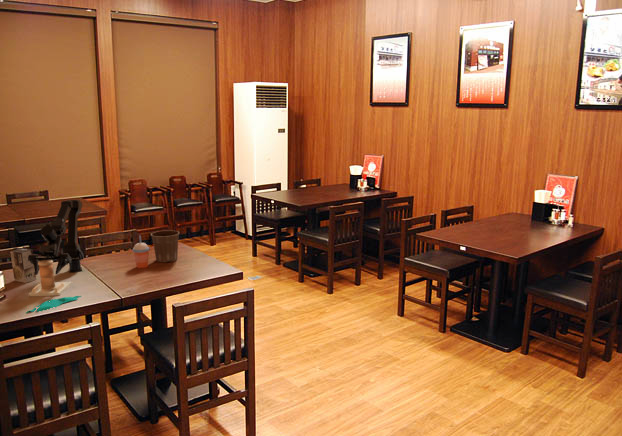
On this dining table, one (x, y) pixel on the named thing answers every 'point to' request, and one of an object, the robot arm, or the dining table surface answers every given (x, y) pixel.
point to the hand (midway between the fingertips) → (46, 274)
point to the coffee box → (22, 265)
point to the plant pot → (165, 245)
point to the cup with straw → (141, 254)
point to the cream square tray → (58, 291)
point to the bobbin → (46, 275)
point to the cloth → (54, 303)
